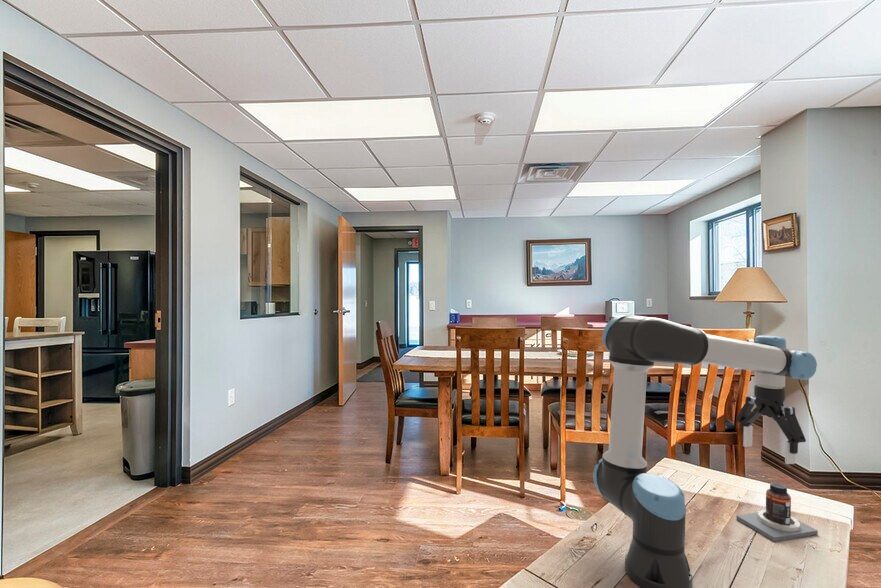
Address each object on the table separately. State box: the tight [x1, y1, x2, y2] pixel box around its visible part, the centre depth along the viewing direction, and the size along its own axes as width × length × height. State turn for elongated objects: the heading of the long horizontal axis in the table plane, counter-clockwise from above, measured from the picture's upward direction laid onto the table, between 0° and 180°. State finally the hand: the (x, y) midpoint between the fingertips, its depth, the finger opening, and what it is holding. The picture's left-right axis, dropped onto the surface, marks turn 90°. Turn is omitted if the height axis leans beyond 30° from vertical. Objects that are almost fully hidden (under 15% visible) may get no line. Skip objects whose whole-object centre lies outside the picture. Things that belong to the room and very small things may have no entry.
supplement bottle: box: [765, 482, 792, 526], centre depth 129 cm, size 6×6×11 cm
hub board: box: [735, 509, 819, 543], centre depth 129 cm, size 16×12×2 cm
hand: (767, 454), depth 131 cm, fingers open, 13 cm apart
